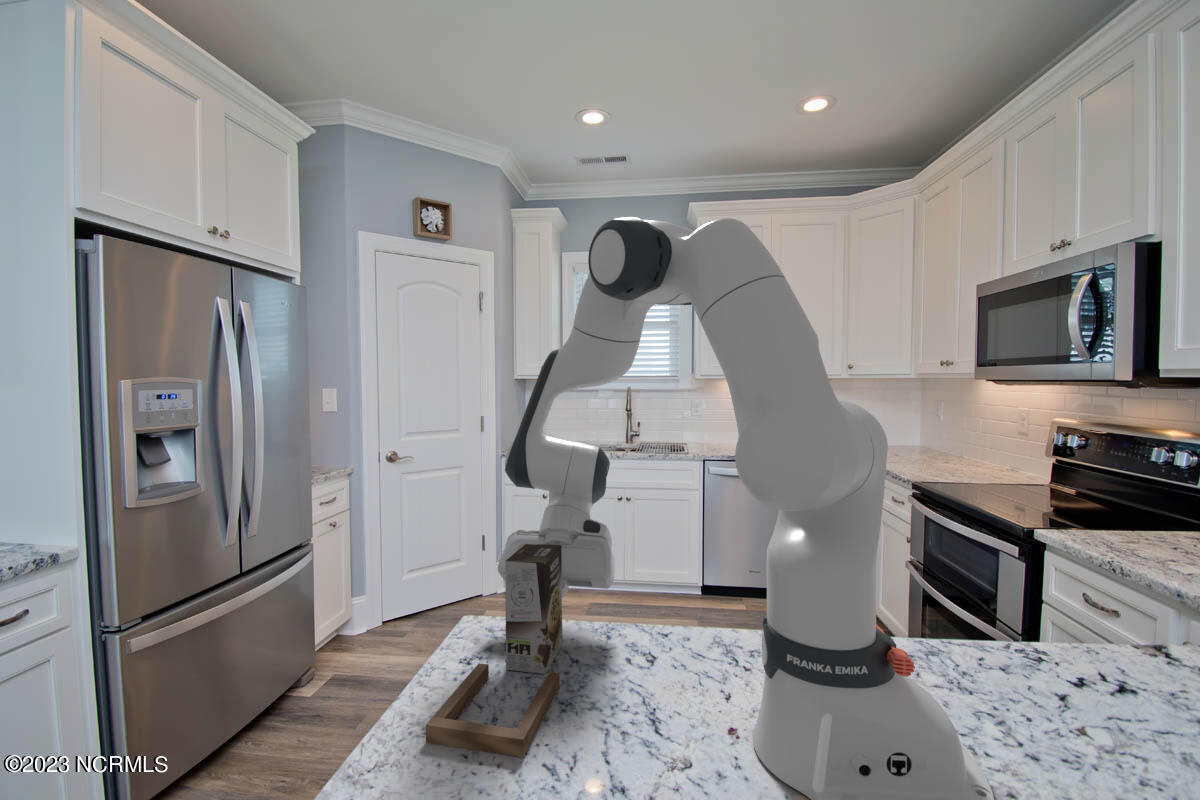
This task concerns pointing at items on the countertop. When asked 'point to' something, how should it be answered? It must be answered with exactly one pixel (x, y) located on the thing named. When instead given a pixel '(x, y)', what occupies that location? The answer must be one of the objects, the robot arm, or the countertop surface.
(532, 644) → the coffee box
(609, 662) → the countertop surface
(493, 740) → the walnut bay
